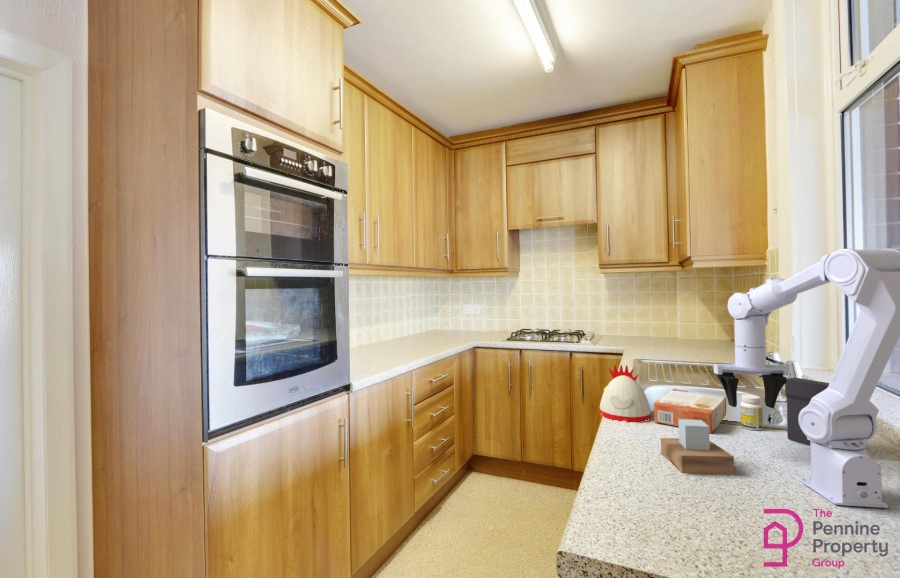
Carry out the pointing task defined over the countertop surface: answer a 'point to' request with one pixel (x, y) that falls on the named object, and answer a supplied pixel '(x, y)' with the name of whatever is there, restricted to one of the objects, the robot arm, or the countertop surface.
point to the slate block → (694, 434)
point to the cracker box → (690, 408)
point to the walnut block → (697, 458)
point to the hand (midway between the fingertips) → (751, 406)
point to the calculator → (799, 404)
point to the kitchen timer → (624, 398)
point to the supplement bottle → (751, 412)
